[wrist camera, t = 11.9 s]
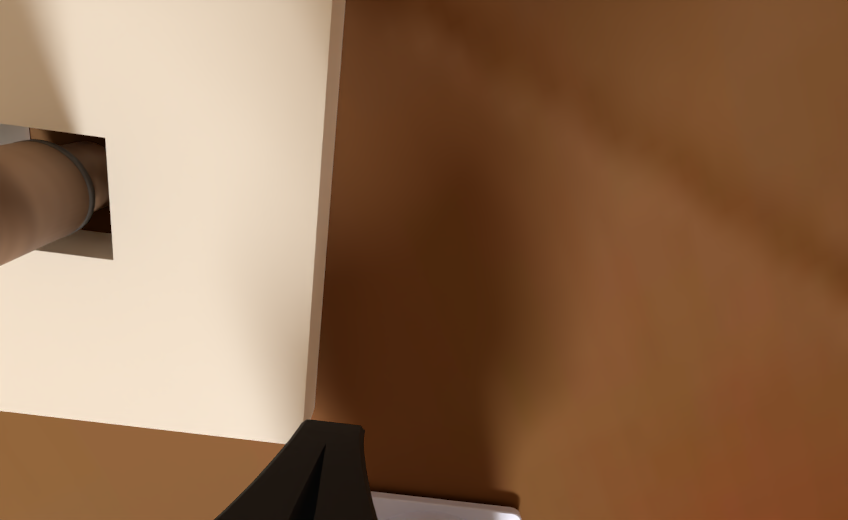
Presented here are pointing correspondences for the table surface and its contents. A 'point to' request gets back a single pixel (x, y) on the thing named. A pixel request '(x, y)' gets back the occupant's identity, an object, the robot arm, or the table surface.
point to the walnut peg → (48, 192)
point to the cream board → (176, 212)
